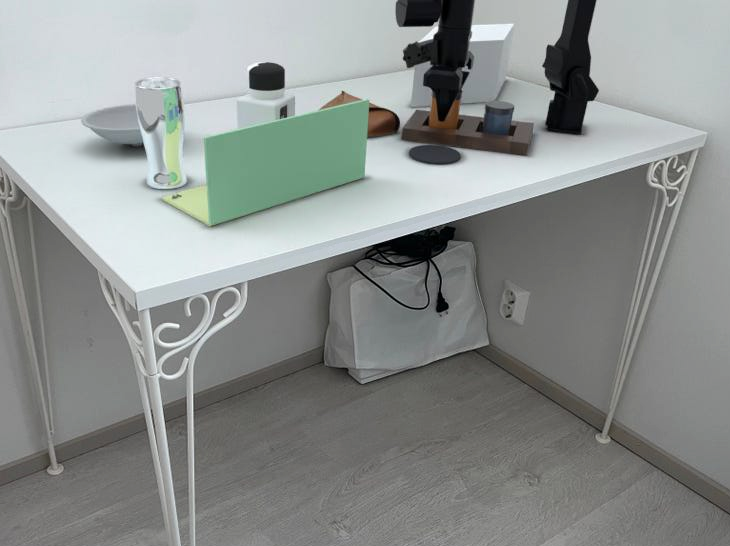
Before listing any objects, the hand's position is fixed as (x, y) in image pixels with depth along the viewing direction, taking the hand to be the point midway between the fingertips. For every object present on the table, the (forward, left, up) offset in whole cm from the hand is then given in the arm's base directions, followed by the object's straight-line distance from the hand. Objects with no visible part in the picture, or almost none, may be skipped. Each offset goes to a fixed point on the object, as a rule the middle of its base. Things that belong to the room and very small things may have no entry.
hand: (444, 116), depth 138 cm
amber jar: (0, 0, -3) cm, 3 cm away
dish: (+49, +27, -3) cm, 56 cm away
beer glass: (+36, +41, -3) cm, 55 cm away
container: (+29, +16, -3) cm, 33 cm away
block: (+1, -31, -3) cm, 31 cm away
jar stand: (-5, 0, -3) cm, 6 cm away
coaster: (-1, +13, -3) cm, 13 cm away
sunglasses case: (+17, 0, -3) cm, 17 cm away
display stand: (+21, +38, -3) cm, 43 cm away
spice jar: (-10, 0, -3) cm, 10 cm away
